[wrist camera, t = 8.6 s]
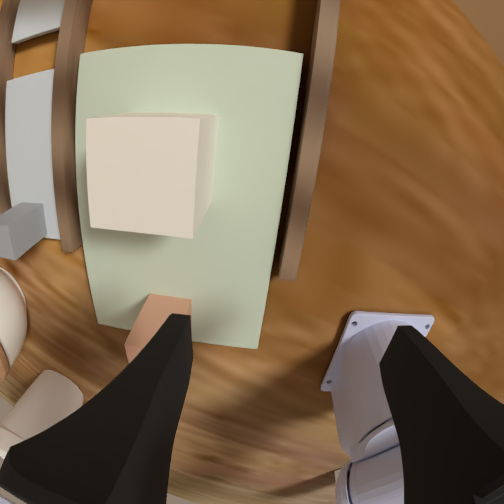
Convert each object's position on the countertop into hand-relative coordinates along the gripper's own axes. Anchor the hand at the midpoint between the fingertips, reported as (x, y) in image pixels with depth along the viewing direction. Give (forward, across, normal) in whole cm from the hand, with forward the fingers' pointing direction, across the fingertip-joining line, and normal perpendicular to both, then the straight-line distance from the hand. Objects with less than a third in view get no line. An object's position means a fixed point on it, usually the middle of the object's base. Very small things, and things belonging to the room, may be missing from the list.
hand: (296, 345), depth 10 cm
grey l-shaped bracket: (+10, +18, -4) cm, 21 cm away
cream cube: (+9, +6, -4) cm, 12 cm away
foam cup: (+10, +23, +23) cm, 34 cm away
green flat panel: (+10, +7, 0) cm, 12 cm away
